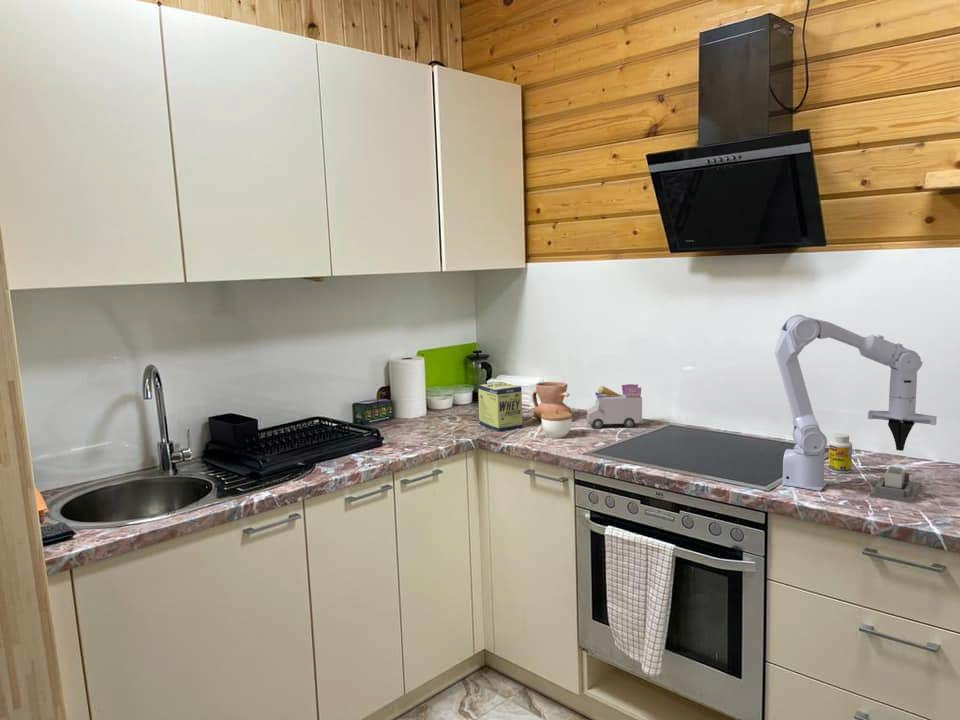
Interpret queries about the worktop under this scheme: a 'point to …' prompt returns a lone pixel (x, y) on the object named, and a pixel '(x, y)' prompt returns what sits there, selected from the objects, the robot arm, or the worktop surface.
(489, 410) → the protein box
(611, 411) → the toy vehicle
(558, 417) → the lidded jar
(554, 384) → the ceramic jug
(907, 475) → the wheel
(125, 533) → the worktop surface
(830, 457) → the supplement bottle
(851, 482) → the worktop surface
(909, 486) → the chassis
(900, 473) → the grey rectangular block
